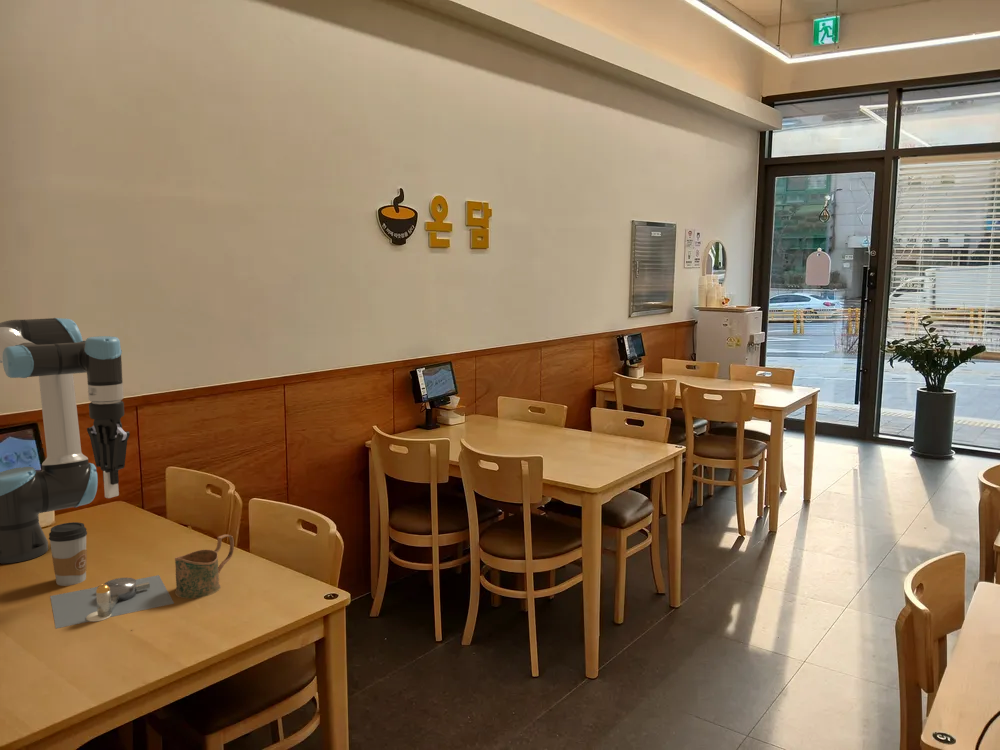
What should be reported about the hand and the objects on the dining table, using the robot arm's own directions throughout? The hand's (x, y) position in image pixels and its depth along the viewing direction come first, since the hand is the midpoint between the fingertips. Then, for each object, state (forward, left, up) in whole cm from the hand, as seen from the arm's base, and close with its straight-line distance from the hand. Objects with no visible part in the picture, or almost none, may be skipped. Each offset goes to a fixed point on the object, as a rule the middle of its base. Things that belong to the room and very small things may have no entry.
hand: (111, 496), depth 189 cm
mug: (+13, +19, -24) cm, 33 cm away
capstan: (+13, -2, -22) cm, 26 cm away
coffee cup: (-8, -9, -24) cm, 26 cm away
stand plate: (+10, -2, -23) cm, 26 cm away
